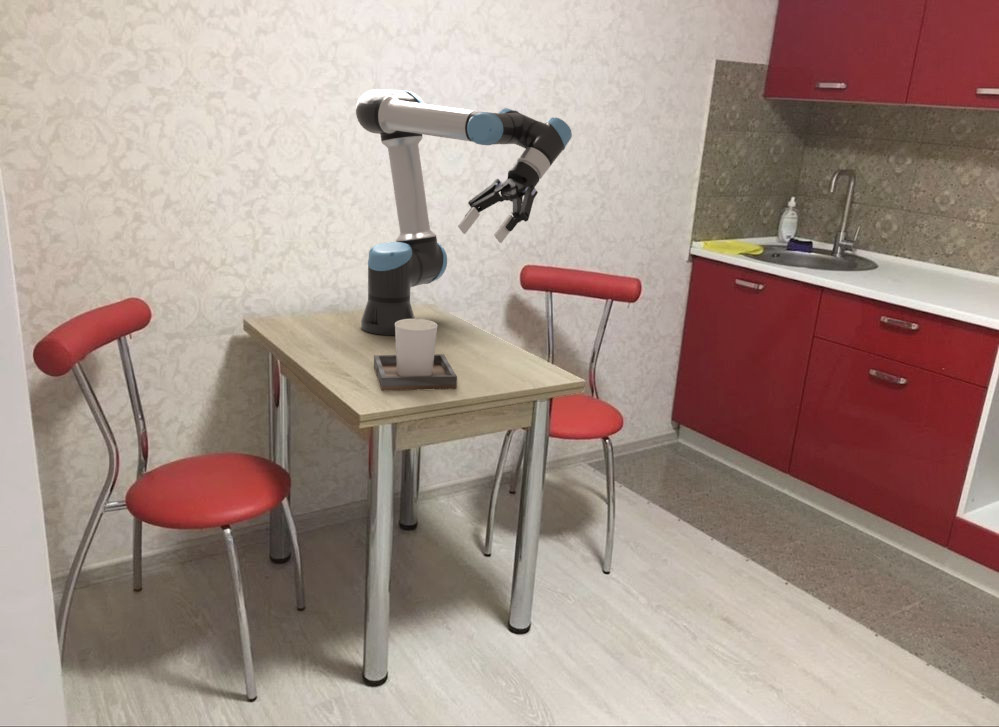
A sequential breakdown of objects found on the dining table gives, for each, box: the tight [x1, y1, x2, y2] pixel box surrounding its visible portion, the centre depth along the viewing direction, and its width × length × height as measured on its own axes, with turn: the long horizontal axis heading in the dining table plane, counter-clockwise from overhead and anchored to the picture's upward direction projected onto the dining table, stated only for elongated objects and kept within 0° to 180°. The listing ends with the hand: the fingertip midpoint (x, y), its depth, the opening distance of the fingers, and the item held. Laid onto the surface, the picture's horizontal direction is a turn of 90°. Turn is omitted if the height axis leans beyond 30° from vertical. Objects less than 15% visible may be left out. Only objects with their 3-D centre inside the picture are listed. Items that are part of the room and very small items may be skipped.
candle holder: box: [394, 318, 438, 376], centre depth 199 cm, size 10×10×12 cm
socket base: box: [373, 353, 458, 392], centre depth 200 cm, size 17×17×3 cm
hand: (478, 234), depth 208 cm, fingers open, 13 cm apart
